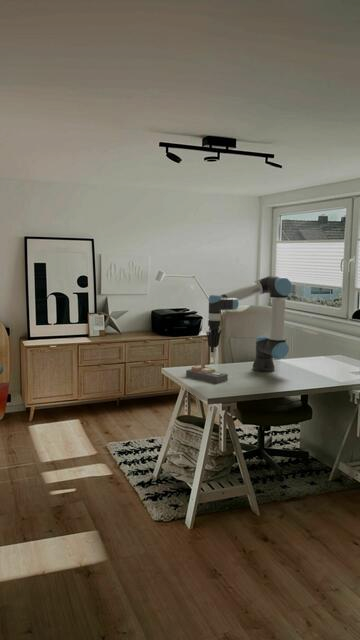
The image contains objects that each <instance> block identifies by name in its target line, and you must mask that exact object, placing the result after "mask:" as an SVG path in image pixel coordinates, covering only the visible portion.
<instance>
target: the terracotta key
mask: <svg viewBox="0 0 360 640" xmlns="http://www.w3.org/2000/svg"><path fill="white" fill-rule="evenodd" d="M191 369H192V370H193V371H197V372H198V371H201V369H203V367H201V365H199V366H198V365H195V366H191Z"/></svg>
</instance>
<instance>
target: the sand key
mask: <svg viewBox="0 0 360 640" xmlns="http://www.w3.org/2000/svg"><path fill="white" fill-rule="evenodd" d="M209 368H210V367H208V368H204V369H201V372H202V373H206V374H209V373H212V369H213V368H211V369H209Z"/></svg>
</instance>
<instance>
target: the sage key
mask: <svg viewBox="0 0 360 640" xmlns="http://www.w3.org/2000/svg"><path fill="white" fill-rule="evenodd" d="M217 372H218V371H215V373H211V375H215V376H219V375H222V373H223V372H220V373H217Z"/></svg>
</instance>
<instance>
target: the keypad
mask: <svg viewBox="0 0 360 640" xmlns="http://www.w3.org/2000/svg"><path fill="white" fill-rule="evenodd" d="M215 372H217V373H222V375H219V376H215V375H211V373H209V374H206V373H202V372H201V371H198V372H197V371H193V370H192V368H190V369H186V370H185V377H188V378H192V379H196V380H201V381H205V382H208V383H213V384H219V383H223V382H227V381H229V380H228V379H229V377H228V376H229V375H228V373H223V372H219V371H216V370H215V371H212V373H215Z"/></svg>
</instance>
